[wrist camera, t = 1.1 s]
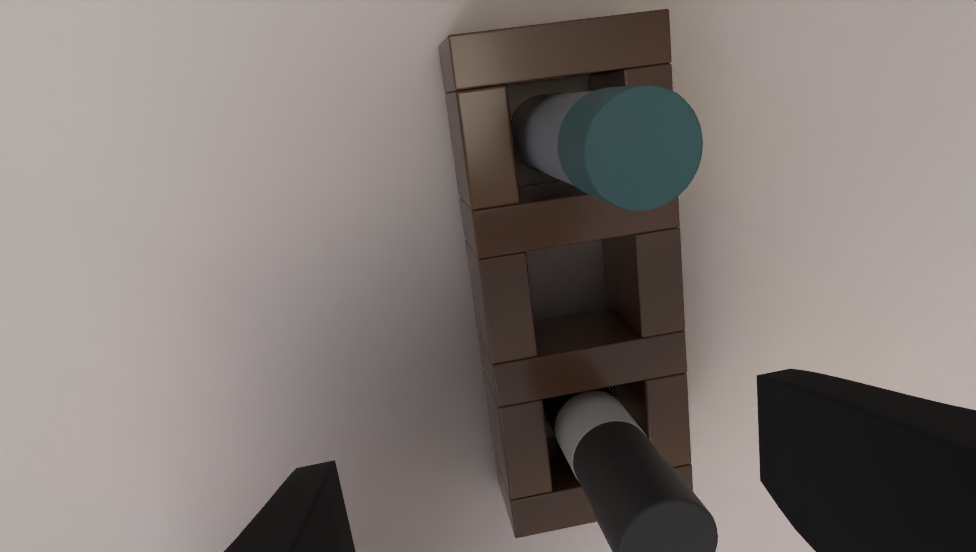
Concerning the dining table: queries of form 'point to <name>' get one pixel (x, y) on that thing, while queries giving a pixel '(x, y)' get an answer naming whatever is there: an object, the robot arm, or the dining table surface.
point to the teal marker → (612, 142)
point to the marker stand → (557, 222)
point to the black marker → (627, 477)
